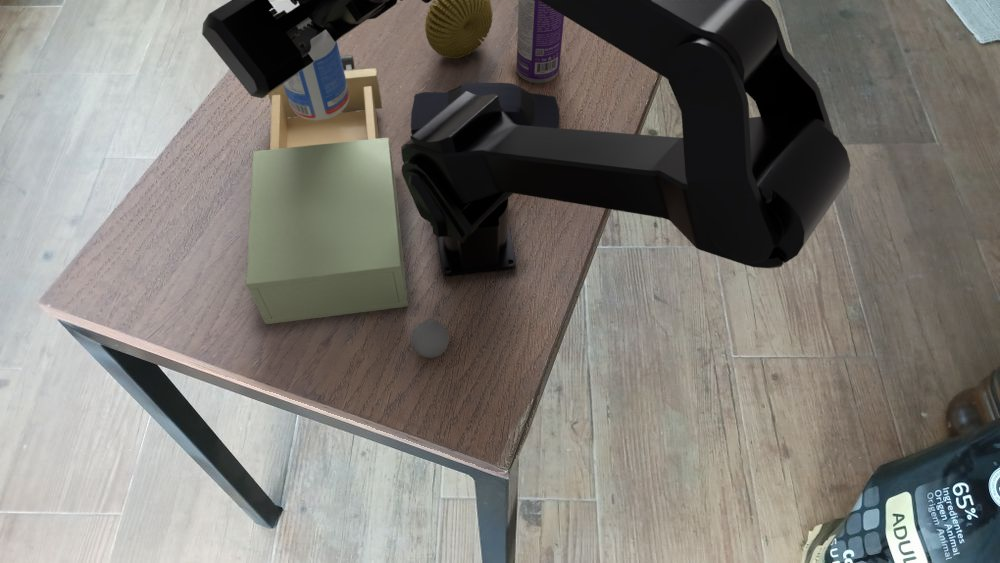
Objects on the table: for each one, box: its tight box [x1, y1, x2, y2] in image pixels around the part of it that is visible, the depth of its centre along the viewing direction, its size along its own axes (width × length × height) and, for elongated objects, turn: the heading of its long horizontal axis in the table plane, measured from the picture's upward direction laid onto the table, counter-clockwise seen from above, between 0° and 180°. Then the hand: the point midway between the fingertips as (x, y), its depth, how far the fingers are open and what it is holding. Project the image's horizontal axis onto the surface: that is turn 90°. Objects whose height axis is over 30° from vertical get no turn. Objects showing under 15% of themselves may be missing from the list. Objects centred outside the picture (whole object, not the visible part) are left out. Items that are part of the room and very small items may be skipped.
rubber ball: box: [410, 319, 450, 359], centre depth 58 cm, size 3×3×3 cm
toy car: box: [410, 82, 561, 136], centre depth 71 cm, size 6×15×5 cm, turn 89°
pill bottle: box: [271, 0, 349, 120], centre depth 62 cm, size 6×5×10 cm
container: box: [516, 0, 565, 84], centre depth 73 cm, size 5×5×15 cm
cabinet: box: [245, 137, 409, 325], centre depth 63 cm, size 14×12×6 cm
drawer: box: [267, 54, 383, 150], centre depth 70 cm, size 18×11×4 cm, turn 9°
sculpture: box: [424, 0, 494, 59], centre depth 77 cm, size 8×4×8 cm, turn 129°
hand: (292, 35), depth 61 cm, fingers closed on pill bottle, 5 cm apart
